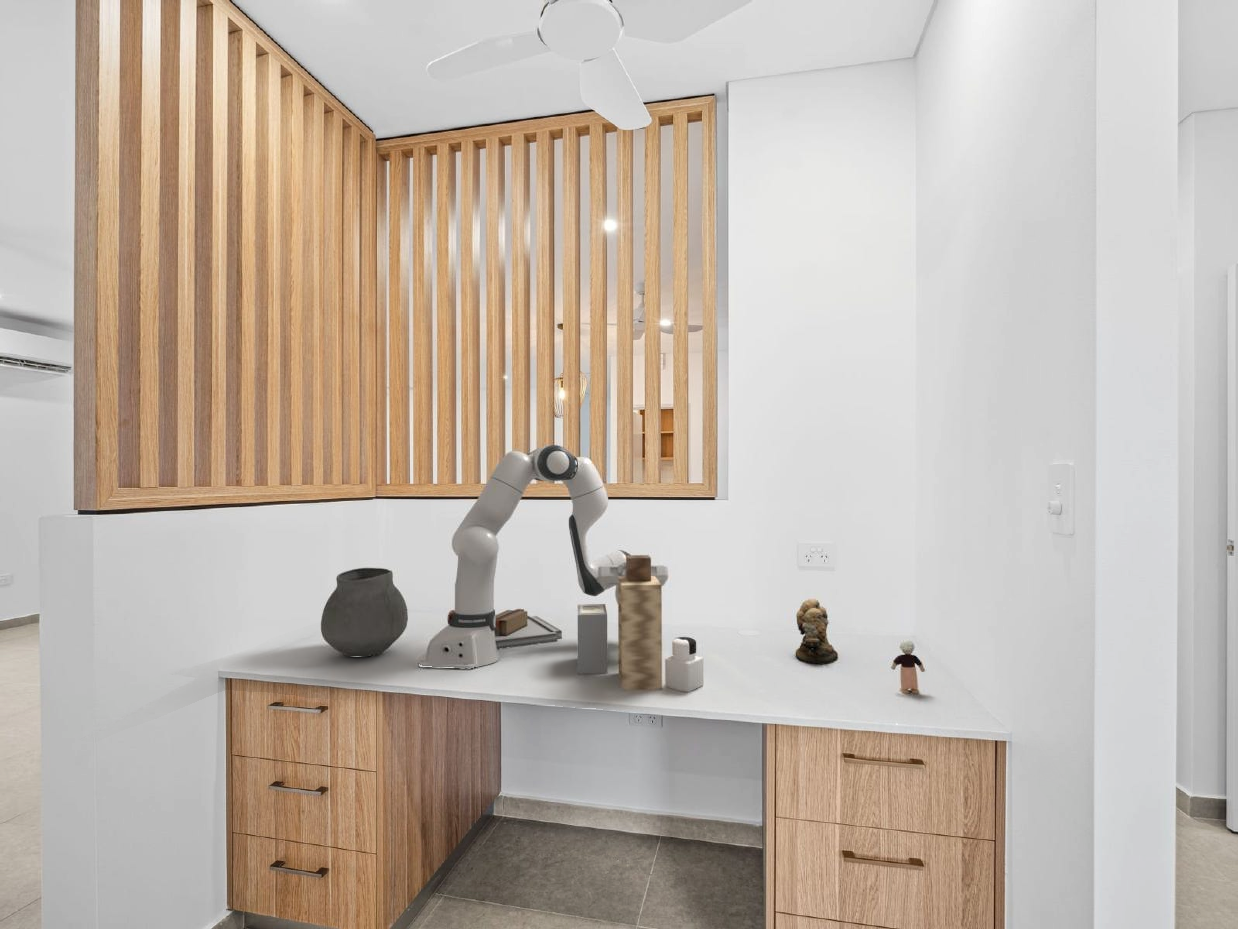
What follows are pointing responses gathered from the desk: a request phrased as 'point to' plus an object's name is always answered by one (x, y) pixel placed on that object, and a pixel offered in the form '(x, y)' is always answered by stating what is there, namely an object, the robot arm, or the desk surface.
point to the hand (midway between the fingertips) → (634, 564)
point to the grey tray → (523, 629)
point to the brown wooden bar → (638, 568)
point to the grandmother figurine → (908, 667)
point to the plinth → (592, 638)
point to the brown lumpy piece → (814, 634)
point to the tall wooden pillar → (640, 634)
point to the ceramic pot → (364, 612)
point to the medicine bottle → (684, 666)
